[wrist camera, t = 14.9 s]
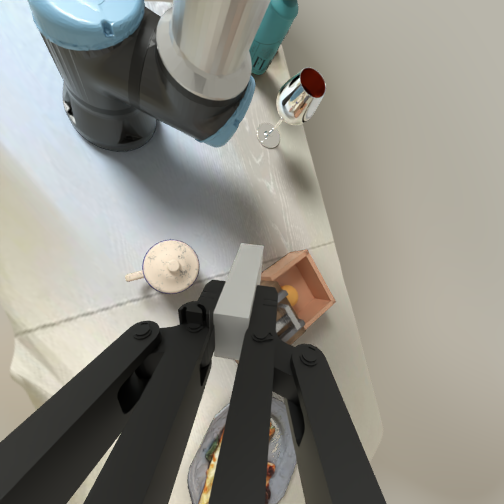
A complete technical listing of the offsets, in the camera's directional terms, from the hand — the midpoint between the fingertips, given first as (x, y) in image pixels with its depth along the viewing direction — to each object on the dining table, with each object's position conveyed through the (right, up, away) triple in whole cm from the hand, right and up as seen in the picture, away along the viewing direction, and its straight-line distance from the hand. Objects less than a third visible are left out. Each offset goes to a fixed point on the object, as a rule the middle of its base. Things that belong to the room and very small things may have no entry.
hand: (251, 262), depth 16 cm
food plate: (-1, -42, +35) cm, 55 cm away
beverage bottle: (0, +47, +44) cm, 64 cm away
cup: (+9, -8, +42) cm, 44 cm away
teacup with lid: (-18, -3, +31) cm, 36 cm away
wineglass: (+4, +30, +44) cm, 53 cm away
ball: (+8, -9, +38) cm, 40 cm away
